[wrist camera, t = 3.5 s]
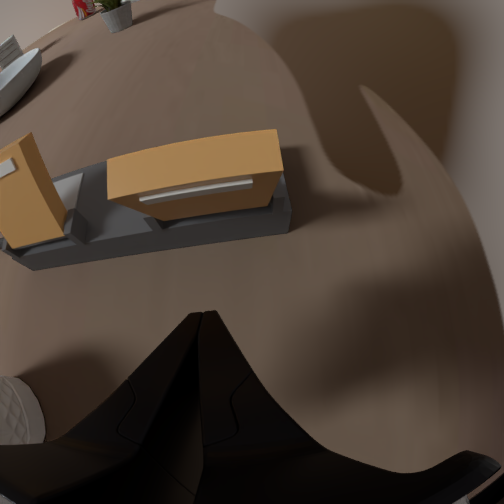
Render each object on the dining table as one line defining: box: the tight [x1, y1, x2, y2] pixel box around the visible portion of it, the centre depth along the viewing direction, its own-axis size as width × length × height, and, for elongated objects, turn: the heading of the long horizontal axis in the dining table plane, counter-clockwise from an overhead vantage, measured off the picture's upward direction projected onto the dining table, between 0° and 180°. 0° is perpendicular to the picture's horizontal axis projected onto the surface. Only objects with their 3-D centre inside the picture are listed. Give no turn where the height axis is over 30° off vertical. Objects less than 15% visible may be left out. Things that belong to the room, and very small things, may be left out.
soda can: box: [72, 0, 96, 20], centre depth 48 cm, size 7×7×12 cm
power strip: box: [0, 161, 292, 271], centre depth 18 cm, size 7×31×5 cm, turn 98°
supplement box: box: [0, 35, 24, 70], centre depth 37 cm, size 7×7×13 cm
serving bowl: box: [0, 48, 42, 116], centre depth 30 cm, size 21×21×7 cm
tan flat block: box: [0, 132, 67, 250], centre depth 13 cm, size 2×6×8 cm, turn 98°
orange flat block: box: [107, 129, 284, 221], centre depth 12 cm, size 2×6×8 cm, turn 98°
